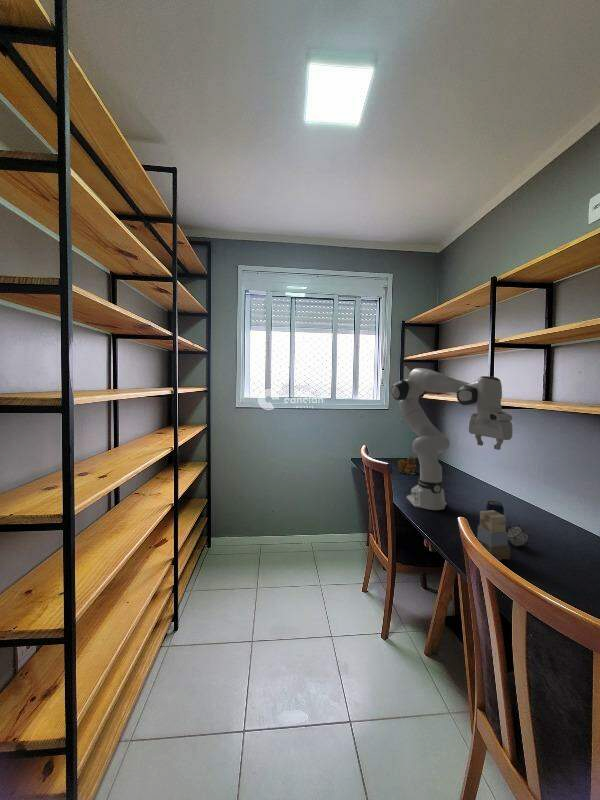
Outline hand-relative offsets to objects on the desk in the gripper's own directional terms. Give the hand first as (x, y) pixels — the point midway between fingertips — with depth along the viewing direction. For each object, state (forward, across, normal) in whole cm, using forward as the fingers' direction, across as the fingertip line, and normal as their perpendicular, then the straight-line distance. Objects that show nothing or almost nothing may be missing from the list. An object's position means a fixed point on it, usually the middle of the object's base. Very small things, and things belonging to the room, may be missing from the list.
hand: (488, 447), depth 132 cm
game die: (+39, +8, +7) cm, 41 cm away
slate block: (+34, +12, -8) cm, 37 cm away
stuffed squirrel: (+39, -100, +19) cm, 109 cm away
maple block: (+29, +12, -8) cm, 32 cm away
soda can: (+39, -7, +10) cm, 41 cm away
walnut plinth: (+39, +12, -8) cm, 42 cm away
